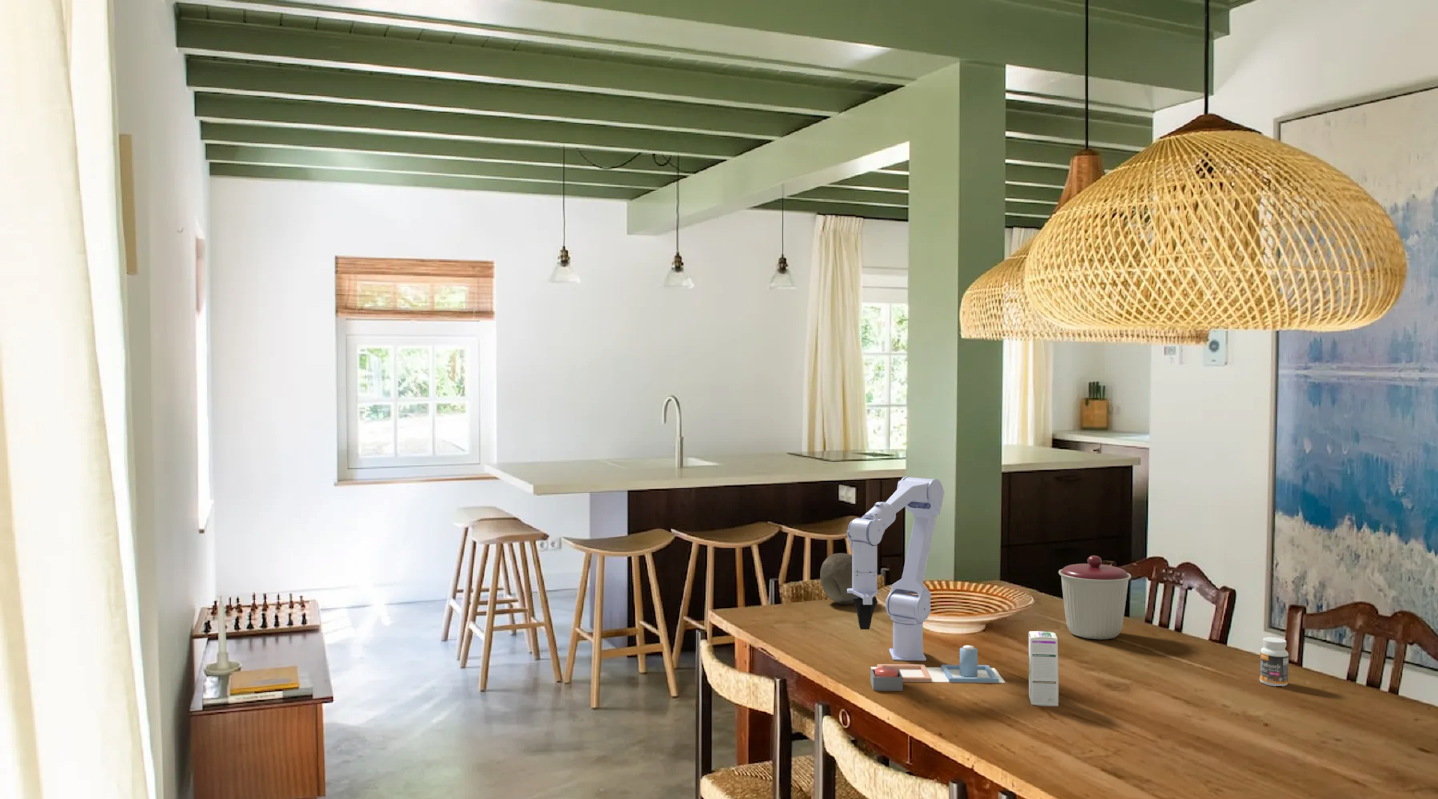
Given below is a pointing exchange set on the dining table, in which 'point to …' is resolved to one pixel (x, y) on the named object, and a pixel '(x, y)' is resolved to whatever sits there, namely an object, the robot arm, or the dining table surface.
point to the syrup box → (1043, 668)
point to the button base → (886, 682)
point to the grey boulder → (837, 577)
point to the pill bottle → (1274, 662)
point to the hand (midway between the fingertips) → (864, 628)
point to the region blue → (969, 679)
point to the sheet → (939, 675)
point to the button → (886, 672)
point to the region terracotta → (910, 666)
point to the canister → (1094, 598)
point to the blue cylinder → (968, 661)
